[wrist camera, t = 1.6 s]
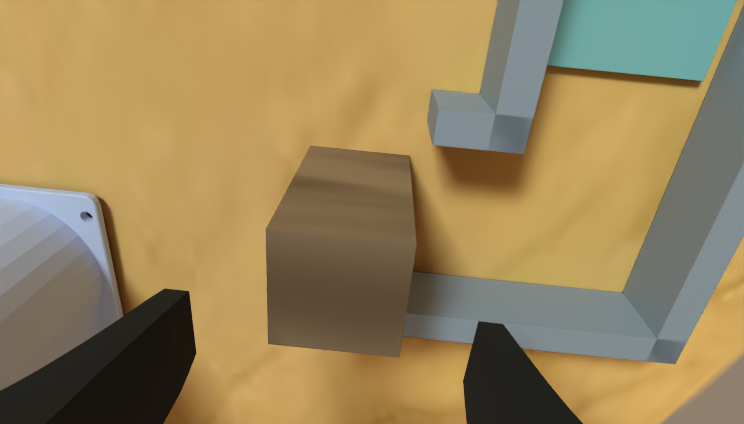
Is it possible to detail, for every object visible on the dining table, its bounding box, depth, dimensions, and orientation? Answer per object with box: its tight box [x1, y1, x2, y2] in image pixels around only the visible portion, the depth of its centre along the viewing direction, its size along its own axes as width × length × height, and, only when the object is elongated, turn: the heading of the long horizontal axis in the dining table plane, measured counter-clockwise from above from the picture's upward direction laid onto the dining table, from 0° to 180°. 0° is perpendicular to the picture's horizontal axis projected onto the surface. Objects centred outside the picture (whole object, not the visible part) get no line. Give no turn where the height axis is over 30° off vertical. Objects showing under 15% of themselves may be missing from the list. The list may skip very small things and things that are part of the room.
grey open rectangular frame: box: [403, 0, 744, 364], centre depth 16 cm, size 18×11×3 cm, turn 175°
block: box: [266, 146, 417, 357], centre depth 16 cm, size 4×4×7 cm
